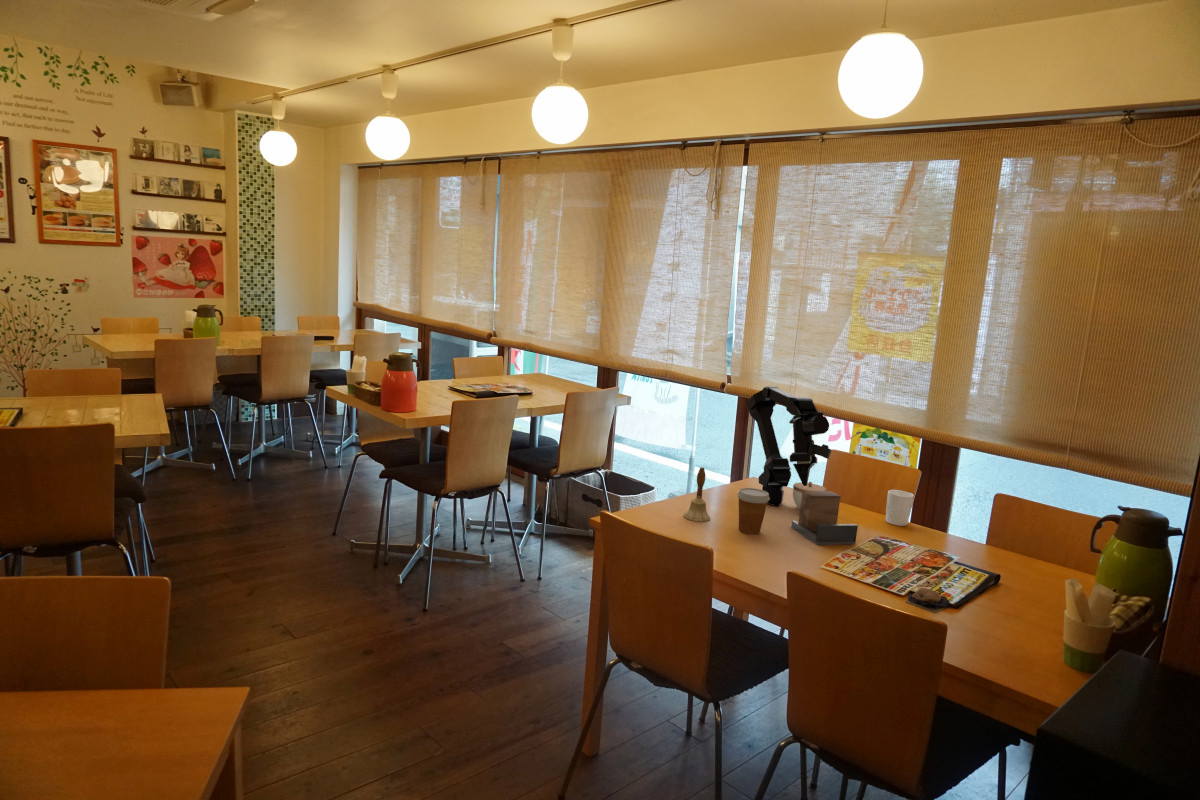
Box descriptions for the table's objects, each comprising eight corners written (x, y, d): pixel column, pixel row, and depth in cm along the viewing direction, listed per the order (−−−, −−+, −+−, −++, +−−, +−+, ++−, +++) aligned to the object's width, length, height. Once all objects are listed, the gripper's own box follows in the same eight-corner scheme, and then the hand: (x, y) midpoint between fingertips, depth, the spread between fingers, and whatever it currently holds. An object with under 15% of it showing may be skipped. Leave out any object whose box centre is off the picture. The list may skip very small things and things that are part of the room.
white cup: (912, 527, 246) (917, 497, 244) (888, 525, 246) (893, 495, 244) (903, 519, 253) (908, 490, 252) (880, 517, 254) (884, 488, 252)
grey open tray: (791, 527, 235) (793, 509, 234) (827, 527, 238) (829, 509, 237) (817, 544, 220) (820, 525, 219) (855, 544, 224) (857, 525, 223)
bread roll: (935, 616, 179) (938, 601, 178) (901, 603, 185) (903, 588, 184) (954, 605, 186) (956, 591, 185) (920, 593, 192) (923, 579, 191)
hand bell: (712, 522, 233) (718, 472, 230) (685, 521, 232) (691, 470, 230) (707, 514, 241) (712, 465, 238) (681, 512, 240) (686, 463, 238)
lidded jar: (799, 513, 250) (803, 486, 248) (785, 503, 260) (788, 477, 259) (829, 514, 252) (833, 487, 251) (813, 504, 262) (817, 478, 261)
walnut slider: (797, 525, 233) (802, 490, 232) (826, 525, 236) (831, 491, 234) (806, 531, 229) (811, 495, 227) (835, 530, 231) (840, 496, 230)
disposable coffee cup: (730, 532, 225) (735, 492, 223) (736, 523, 234) (740, 485, 232) (763, 538, 222) (768, 498, 220) (767, 529, 231) (772, 491, 229)
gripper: (825, 433, 232) (828, 485, 230) (832, 437, 249) (834, 485, 247) (788, 434, 236) (790, 485, 234) (797, 439, 253) (799, 486, 251)
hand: (805, 485), depth 241 cm, fingers closed
